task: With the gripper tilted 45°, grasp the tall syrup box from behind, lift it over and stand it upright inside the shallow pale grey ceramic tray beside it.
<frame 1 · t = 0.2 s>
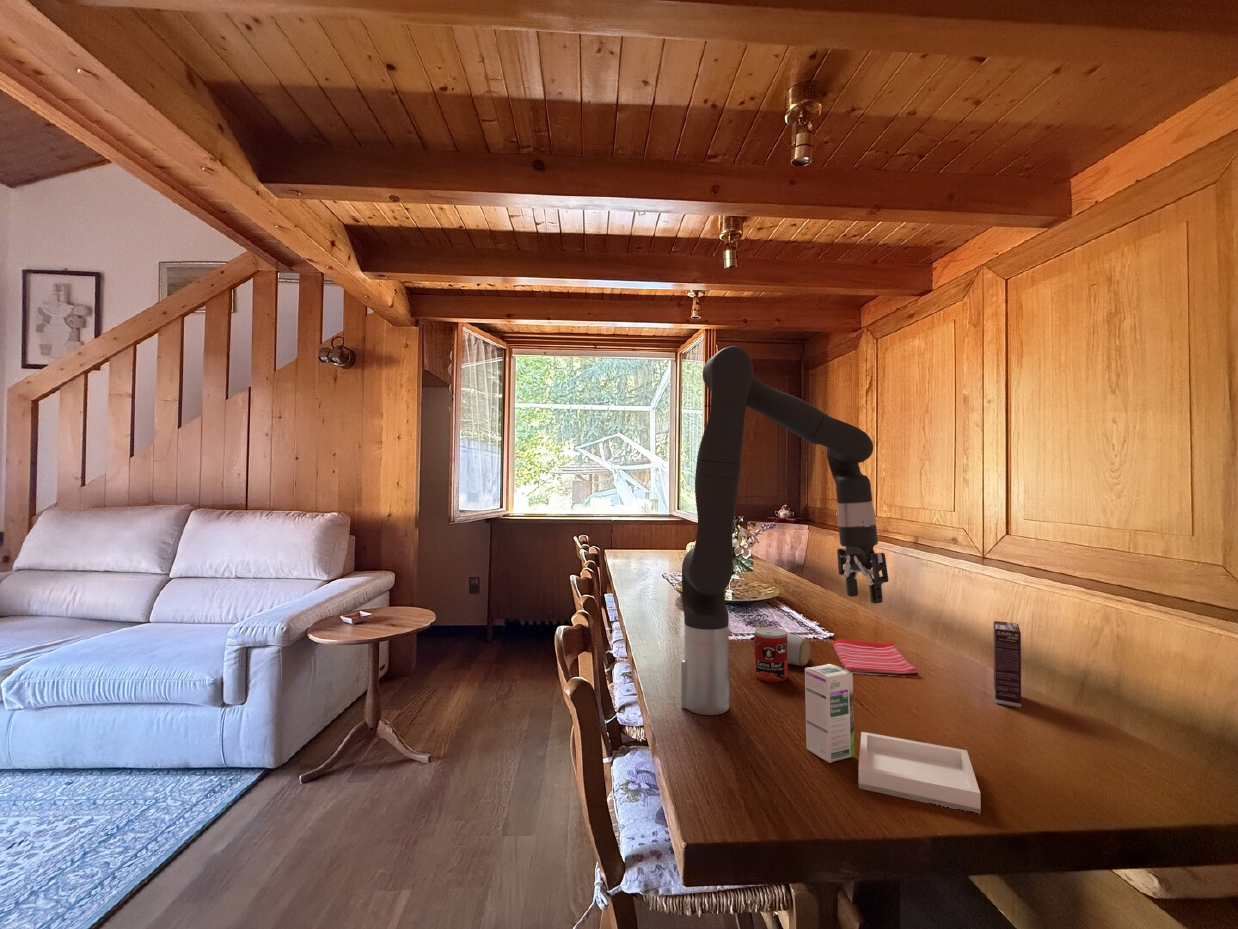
hand: (864, 599, 120), 22 cm above the table, tool pointing down, fingers open, 8 cm apart
supplement box: (1007, 700, 122), on the table
ceramic mug: (792, 662, 147), on the table
canned food: (770, 677, 135), on the table
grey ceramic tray: (914, 778, 89), on the table
dish towel: (872, 663, 148), on the table
syrup box: (829, 754, 98), on the table
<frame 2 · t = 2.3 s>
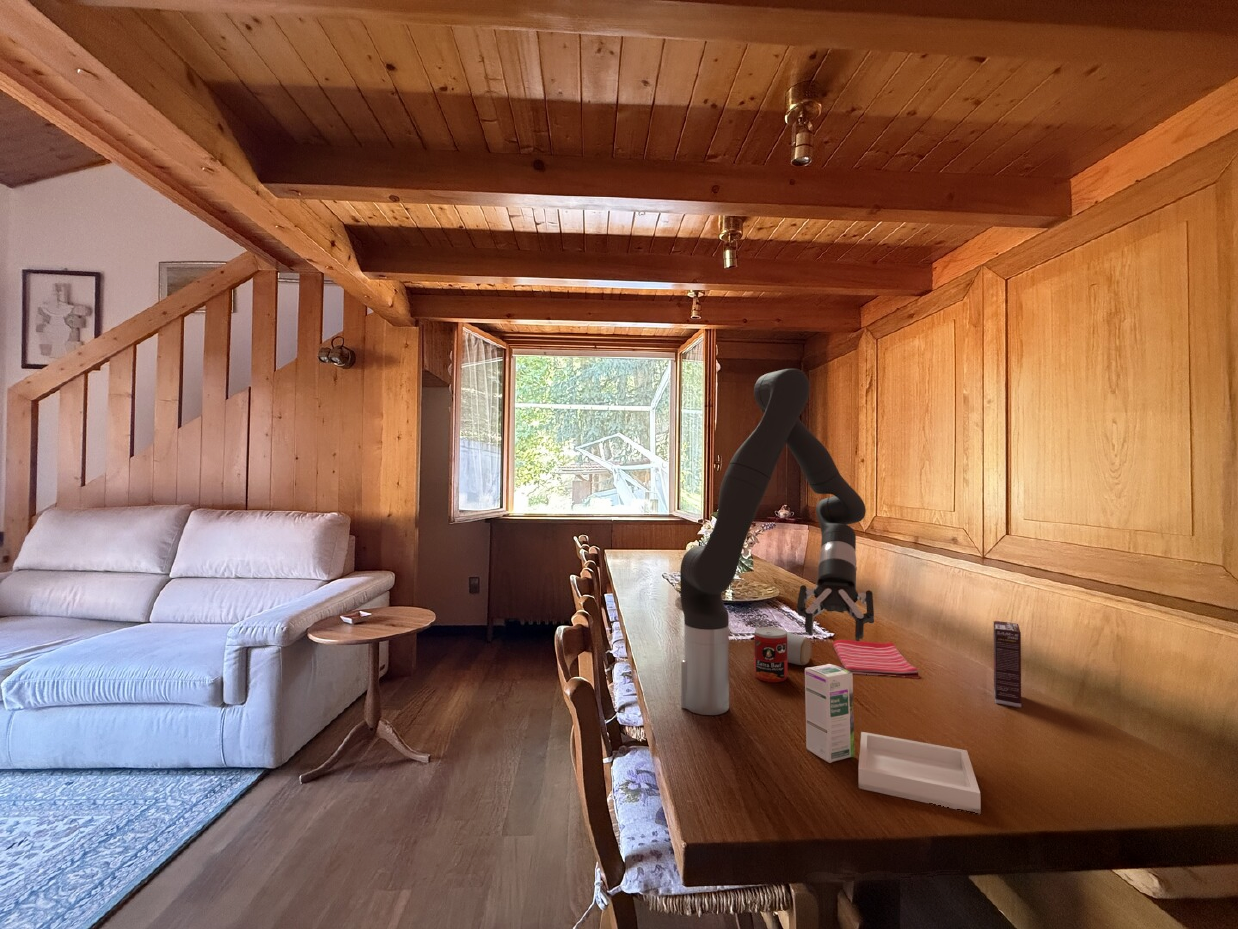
hand: (833, 636, 108), 17 cm above the table, tool tilted 45°, fingers open, 8 cm apart
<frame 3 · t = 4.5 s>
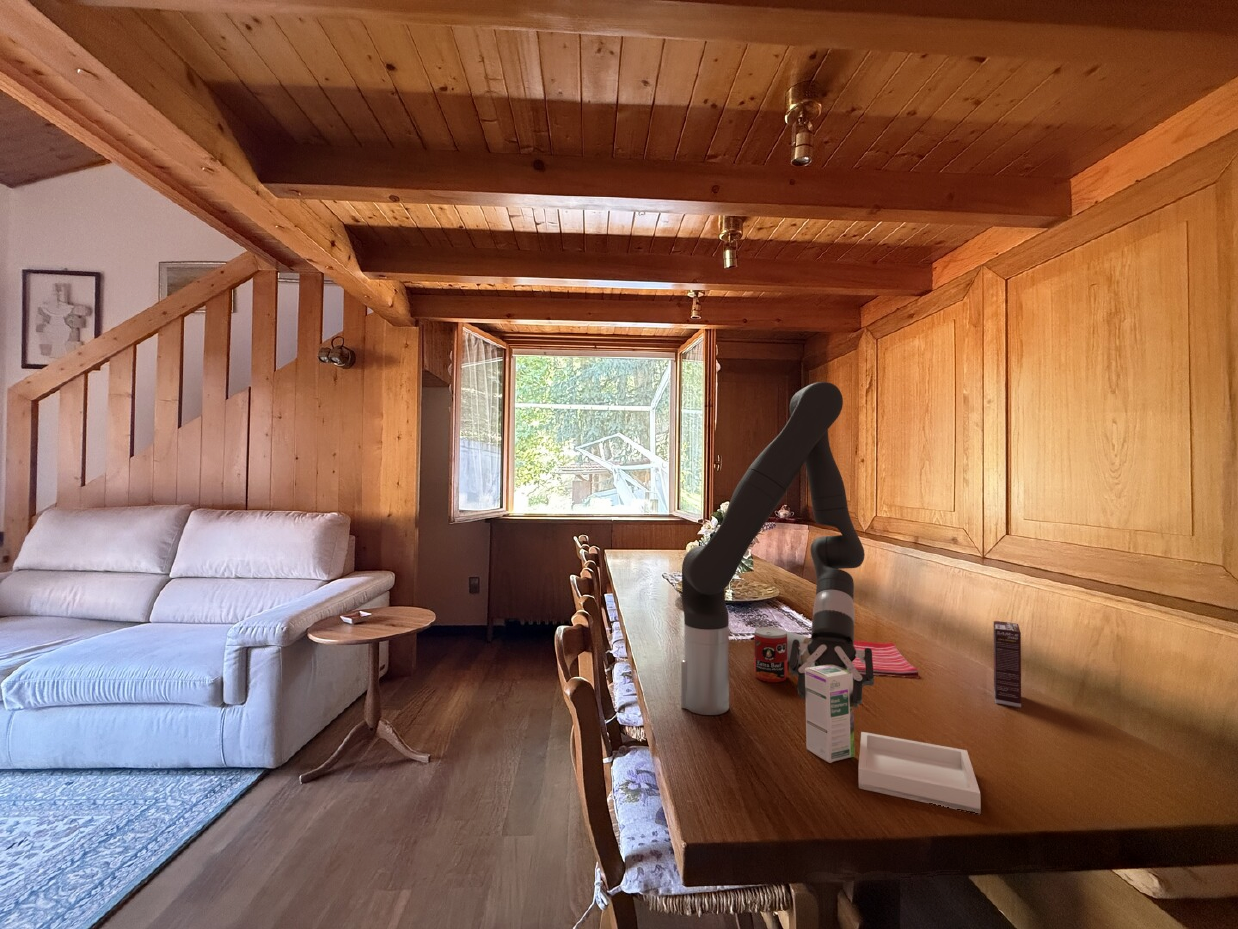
hand: (828, 701, 97), 9 cm above the table, tool tilted 45°, fingers open, 8 cm apart
syrup box: (829, 754, 98), on the table, touching gripper
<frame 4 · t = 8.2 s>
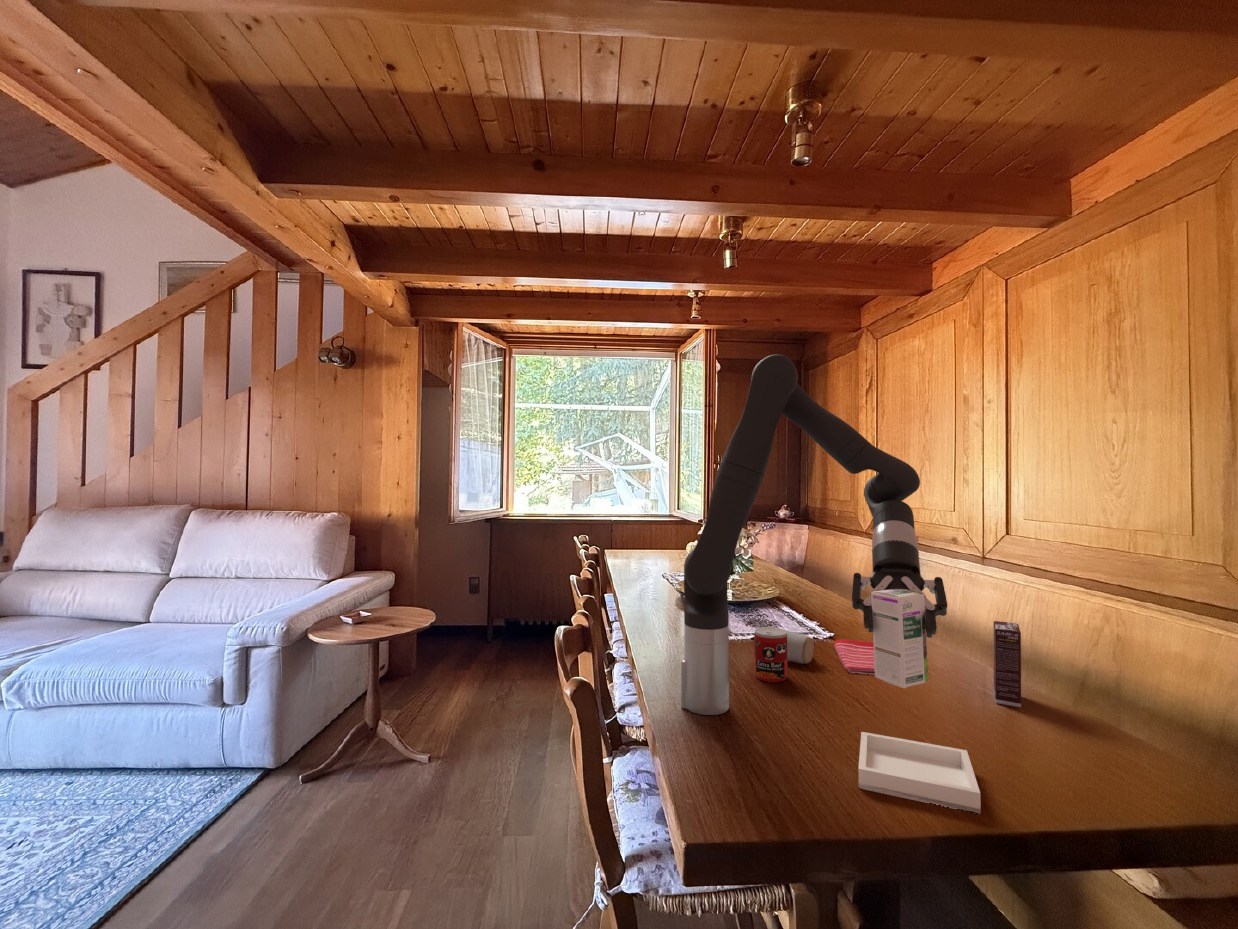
hand: (899, 632, 90), 23 cm above the table, tool tilted 45°, fingers closed on syrup box, 8 cm apart
syrup box: (900, 681, 92), point 15 cm above the table, touching gripper
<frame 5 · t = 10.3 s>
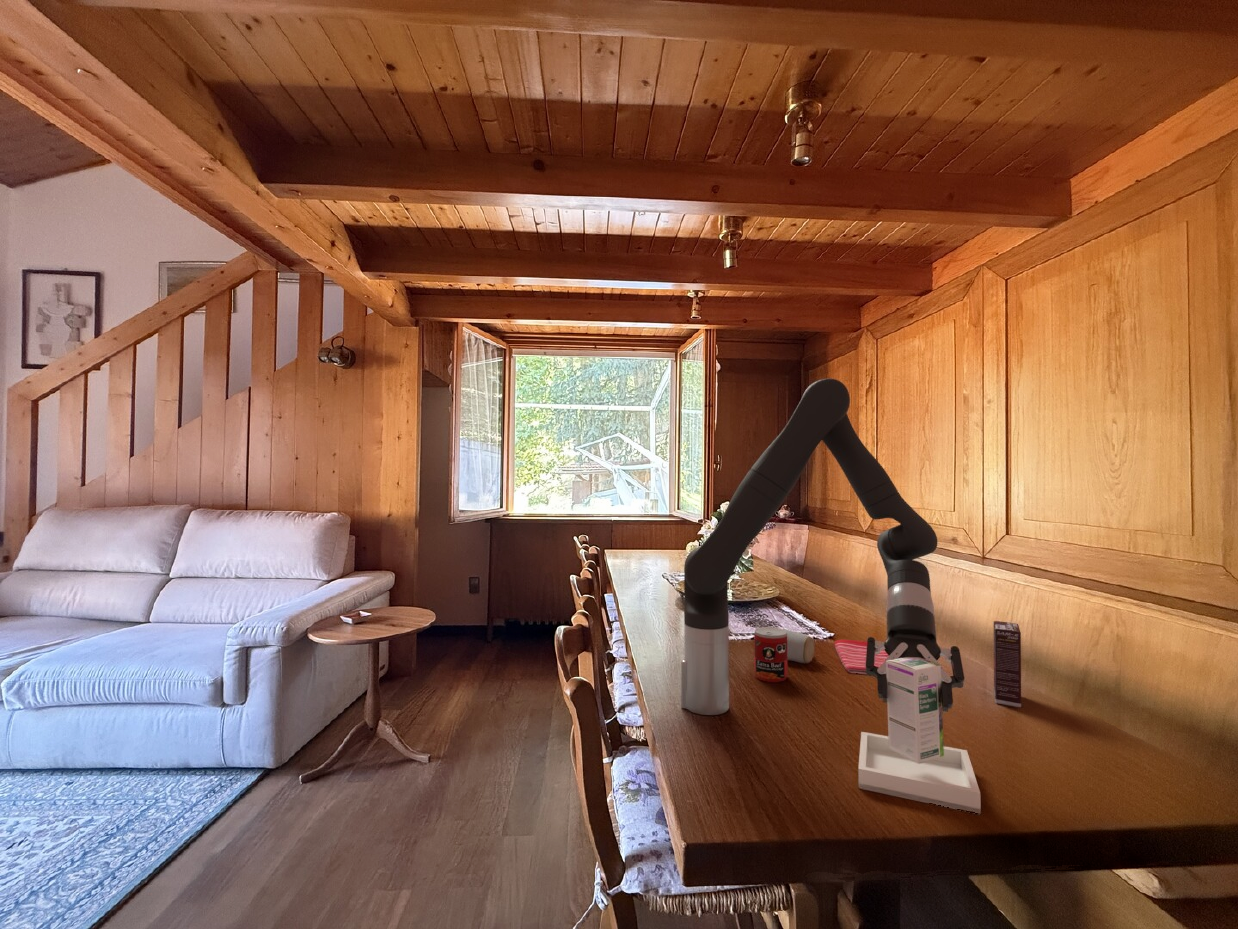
hand: (914, 705, 88), 12 cm above the table, tool tilted 45°, fingers closed on syrup box, 8 cm apart
syrup box: (915, 754, 90), point 4 cm above the table, touching gripper
when the fingers open (10 cm above the table, at t = 11.5 s): syrup box drops 1 cm, resting on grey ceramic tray.
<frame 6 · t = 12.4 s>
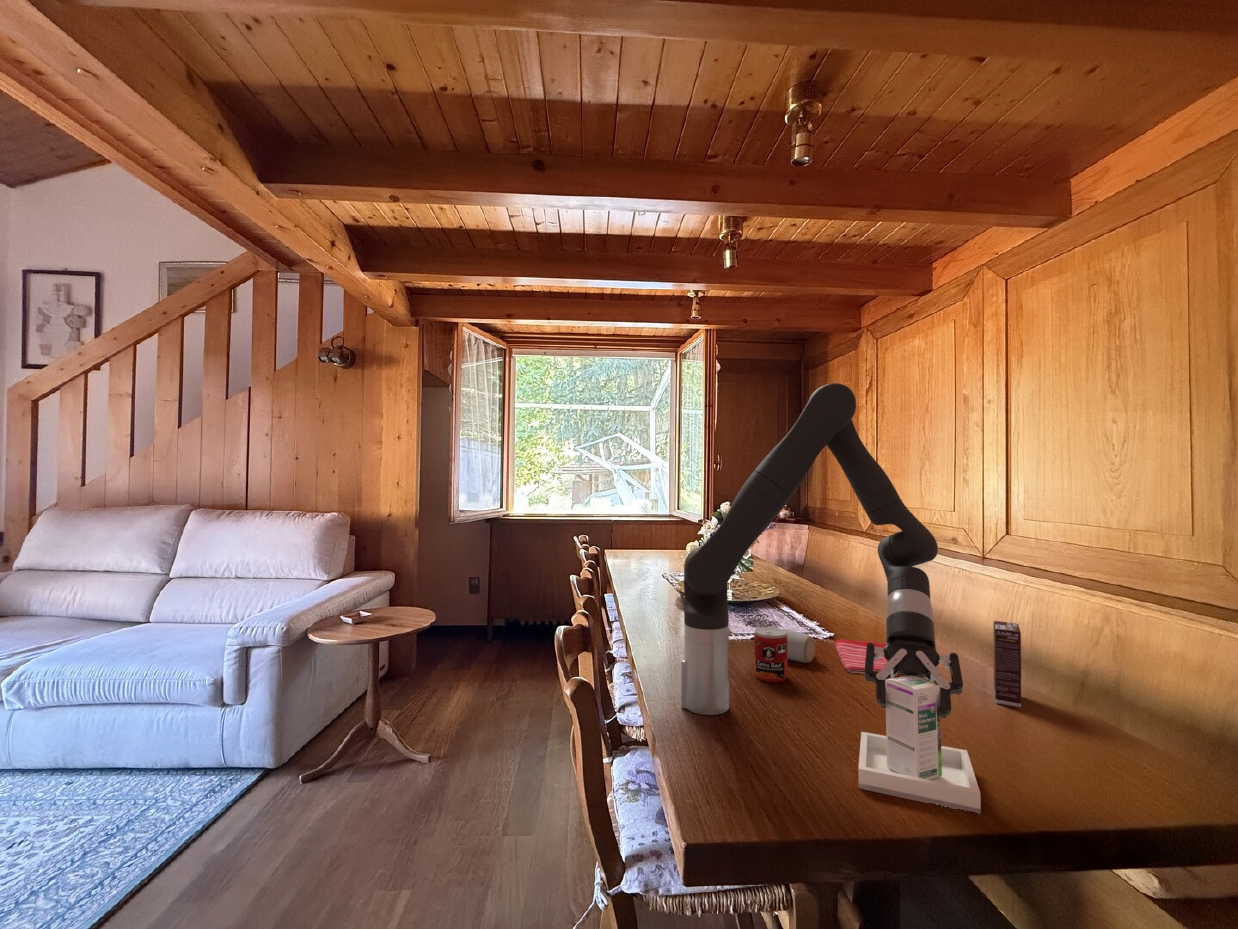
hand: (913, 710, 89), 11 cm above the table, tool tilted 45°, fingers open, 8 cm apart
syrup box: (913, 773, 90), point 1 cm above the table, touching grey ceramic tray
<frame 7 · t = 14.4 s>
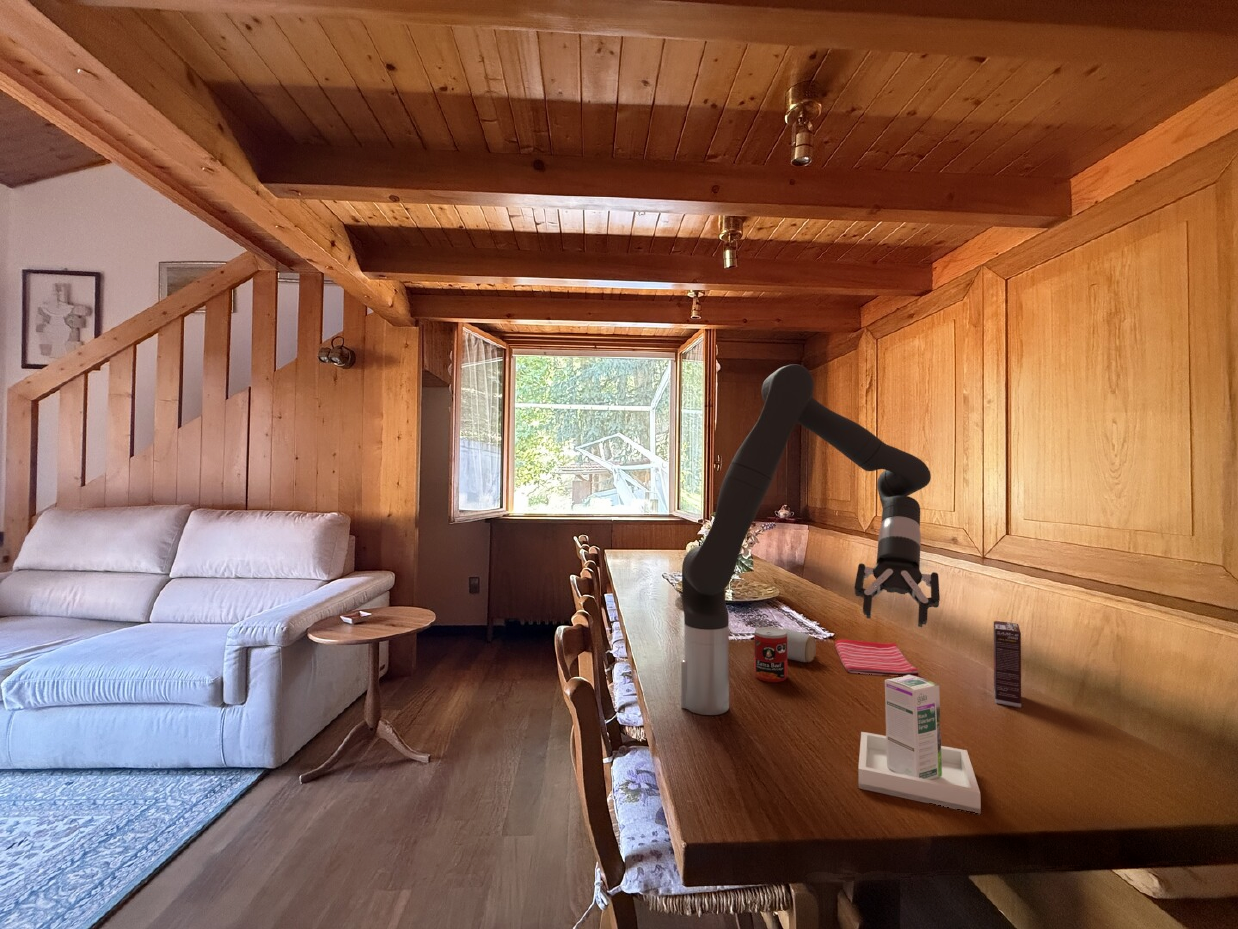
hand: (894, 621, 102), 22 cm above the table, tool tilted 35°, fingers open, 8 cm apart
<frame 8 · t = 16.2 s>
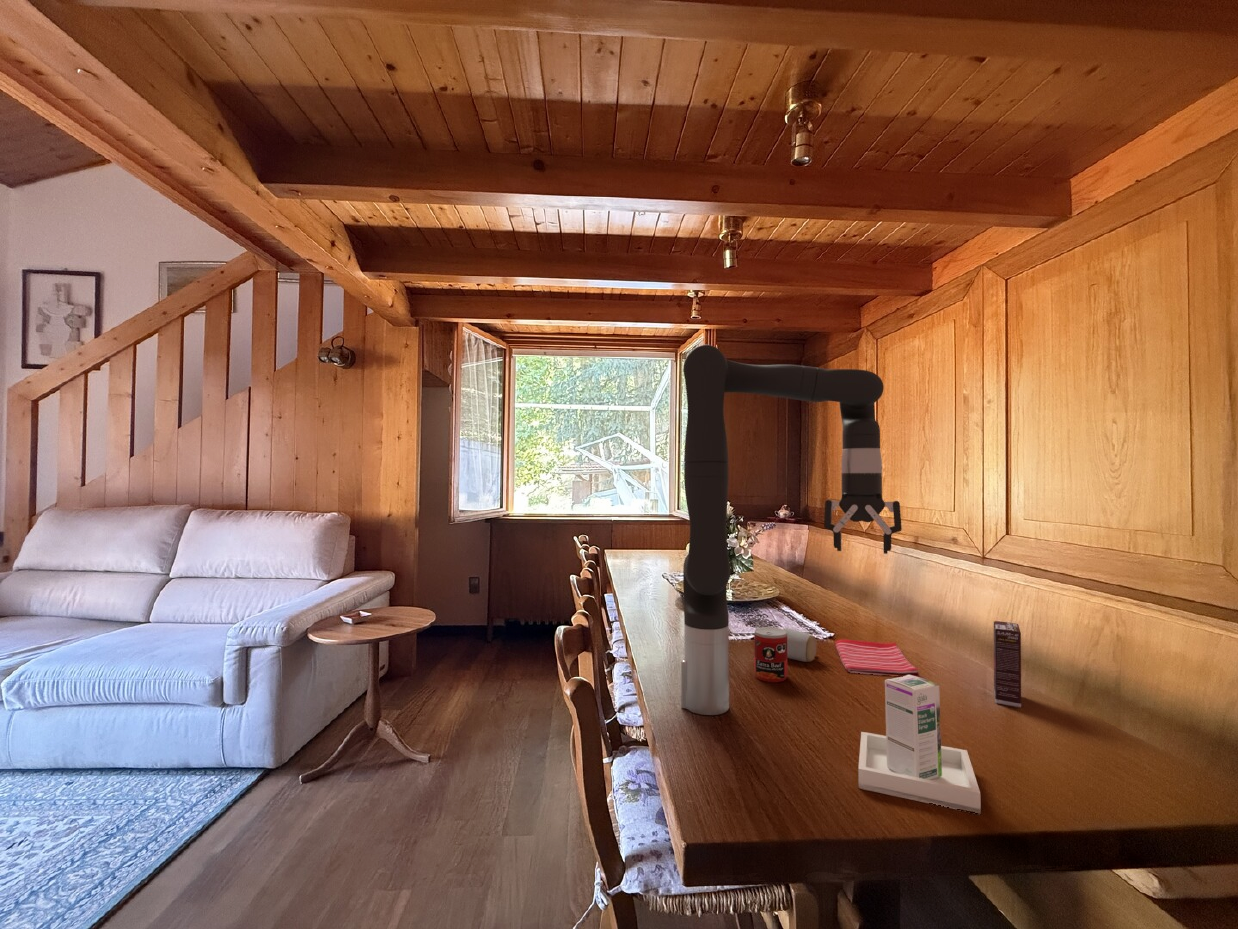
hand: (862, 552, 113), 33 cm above the table, tool pointing down, fingers open, 8 cm apart
at the end: syrup box inside the target area on the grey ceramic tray (0.3 cm from its centre), point 0.6 cm above the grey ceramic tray's base; syrup box tilted 0°; the gripper is holding nothing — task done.
